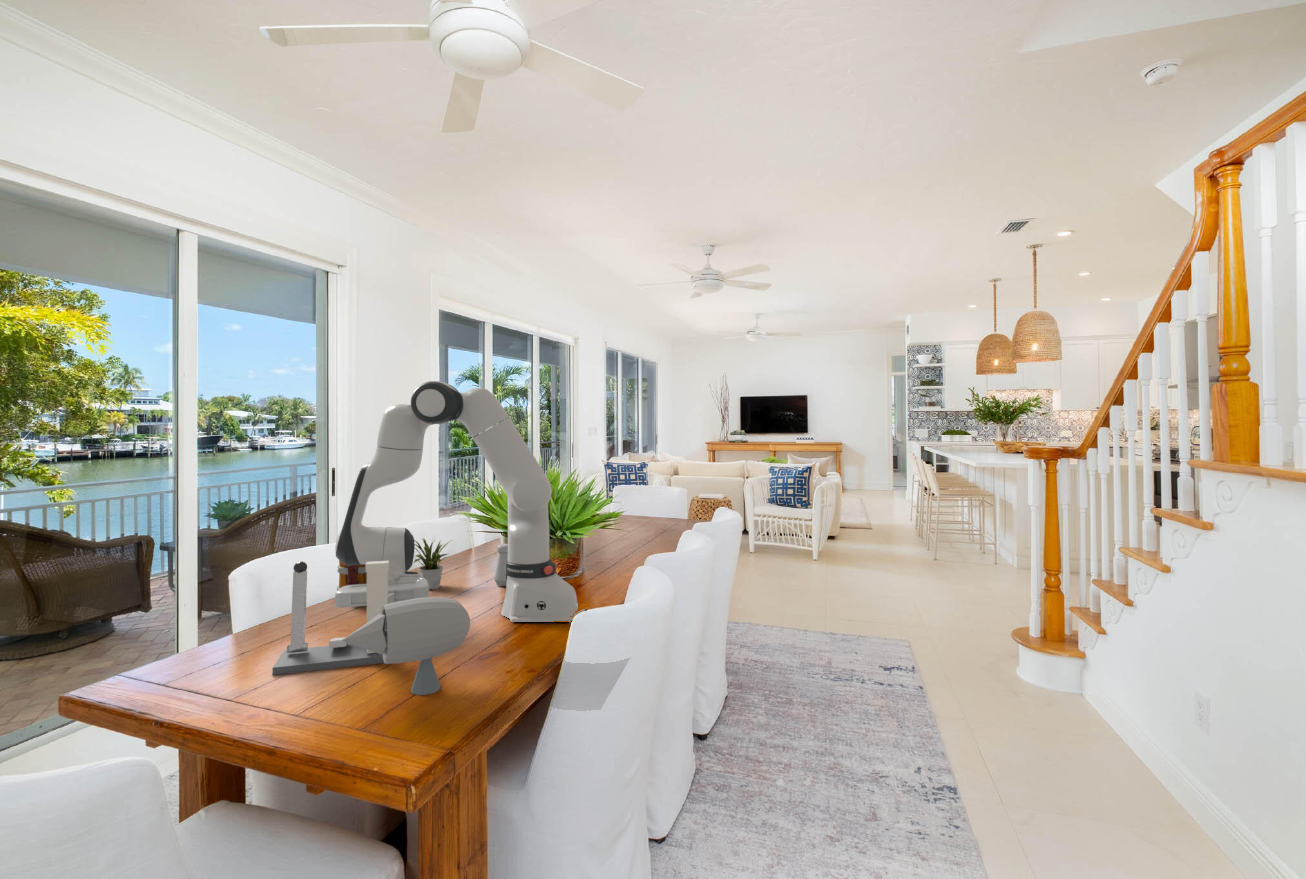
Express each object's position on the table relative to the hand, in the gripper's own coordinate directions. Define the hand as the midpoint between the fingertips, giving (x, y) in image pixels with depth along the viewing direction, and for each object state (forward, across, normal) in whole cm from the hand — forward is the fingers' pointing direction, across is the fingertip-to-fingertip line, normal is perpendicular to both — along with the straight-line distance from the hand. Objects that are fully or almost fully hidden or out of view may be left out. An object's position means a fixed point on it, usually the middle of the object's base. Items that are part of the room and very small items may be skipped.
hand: (381, 602), depth 136 cm
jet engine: (+26, +7, +10) cm, 29 cm away
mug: (-43, -10, +10) cm, 46 cm away
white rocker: (+3, -8, +7) cm, 11 cm away
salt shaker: (-45, +32, +10) cm, 56 cm away
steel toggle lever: (+3, -16, +7) cm, 18 cm away
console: (+5, -8, +10) cm, 14 cm away
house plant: (-50, +9, +10) cm, 51 cm away
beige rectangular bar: (+8, 0, +8) cm, 11 cm away
